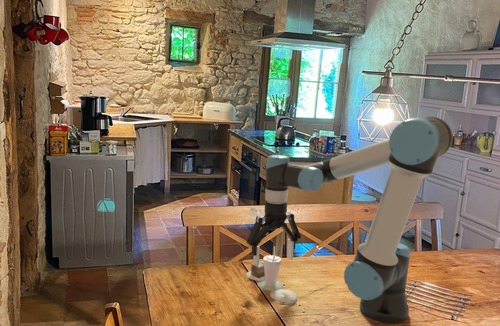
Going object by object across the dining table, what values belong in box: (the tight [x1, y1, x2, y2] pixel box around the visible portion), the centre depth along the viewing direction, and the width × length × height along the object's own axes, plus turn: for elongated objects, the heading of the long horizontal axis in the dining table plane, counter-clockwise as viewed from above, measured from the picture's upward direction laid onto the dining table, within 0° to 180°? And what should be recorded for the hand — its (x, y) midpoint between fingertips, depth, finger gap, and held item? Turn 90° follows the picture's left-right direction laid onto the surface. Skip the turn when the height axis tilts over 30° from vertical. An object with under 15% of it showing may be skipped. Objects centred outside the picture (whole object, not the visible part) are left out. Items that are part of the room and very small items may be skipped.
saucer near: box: [269, 288, 298, 306], centre depth 153 cm, size 9×9×1 cm
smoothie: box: [262, 246, 282, 287], centre depth 159 cm, size 6×6×14 cm
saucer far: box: [245, 270, 265, 282], centre depth 168 cm, size 9×9×1 cm
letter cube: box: [250, 261, 265, 278], centre depth 167 cm, size 4×4×4 cm
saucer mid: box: [257, 280, 284, 292], centre depth 161 cm, size 9×9×1 cm
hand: (273, 261), depth 159 cm, fingers open, 13 cm apart
